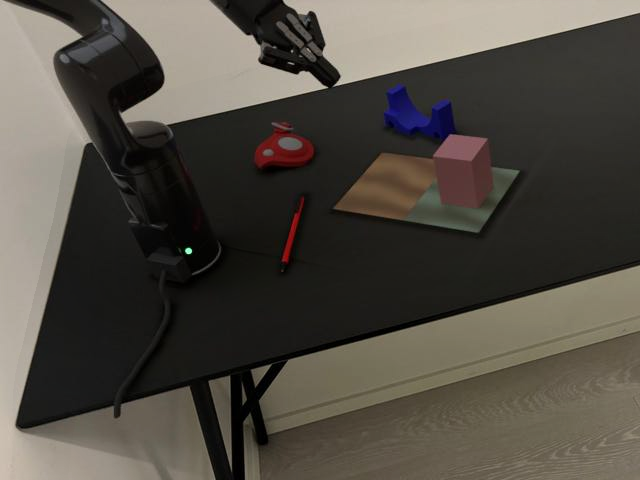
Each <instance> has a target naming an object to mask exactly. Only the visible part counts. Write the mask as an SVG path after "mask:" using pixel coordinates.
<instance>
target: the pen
mask: <svg viewBox="0 0 640 480" xmlns="http://www.w3.org/2000/svg"><path fill="white" fill-rule="evenodd" d="M304 201H305V196H304V195H302V194H301V195H299V198H298V202H297V204H296V208H295V212H294V217H293V220H292V223H291V227H290V231H289V235H288V238H287V240H286V241H287V242H286V245H285V248H284V251H283V255H282V259H281V263H280V264H281V272H282V273H283V272H284V271H285V269H286V268H287V267H288V265H289V261H290V253H291V250H292V249H291V248H292V245H293V242H294V237H295V234H296V231H297V227H298V223H299V220H300V215H301V212H302V208H303V206H304Z"/></svg>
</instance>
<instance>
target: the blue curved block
mask: <svg viewBox="0 0 640 480" xmlns="http://www.w3.org/2000/svg"><path fill="white" fill-rule="evenodd" d="M386 97H387V103H388V107H389V108H388V109H386V110H385V111H384V112H383V111H382V113H383V117H384V122H385V126H386V127H388V128H390V127H392V126H393V129H394V130H396V131H399V132H401V133H404V134H407V135H409V136H412V135H414V134H415V133H417V132H419V133H421V134H424V135H426V136H429V137H432V138H434V139H435V138H438V137H439V139H440V140H439V141H441V142H444V141H445V140H446V139H447V137H448V136H449V135H450V134H453V135H455V134H456V127H455V120H454V119H455V118H454V113H453V106H452V101H450V100H446V99H443V100H441V101H440V102H438V103H437V104H435V105H433V106H432V107H431V108H430V110H431V116H430V117H427V115H424V114H423V113H422V112H420V111H419V110H418V109H417V108H416V106H415V105H414V104H413V101H412V99H410V96H409V94H408V91H407V88H406V85H402V84H399V83H398V84H397V85H395V86H393V87H392V88H390V89H388V90H387V91H386Z"/></svg>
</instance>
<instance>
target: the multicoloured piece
mask: <svg viewBox="0 0 640 480" xmlns="http://www.w3.org/2000/svg"><path fill="white" fill-rule="evenodd" d="M491 168H492V176H493V184H494V186H493V188H492V189H491V191H490V192H489V194H488V195H487V197H486V198H485V200H484V201H483V203H482V204H481V206H480V207H479V209H476V208H469V207H462V206H455V205H449V204H442V203H441V200H440V194H439V188H438V183H437V177H436V171H435V166H434V160H433V158H428V157H427V158H426V157H422V156H421V157H419V156H412V155H405V154H396V153H390V152H381V153H380V154H379V156H378V157H377V158H376V159H375V160H374V161H373V162H372V163H371V165H370V166H369V167H368V168H367V169H366V170H365V172H364V173H363V174H362V175H361V176H360V177H359V178H358V179H357V181H356V182H355V183H354V184H353V185H352V186H351V188H350V189H349V190H347V192H346V193H345V194H344V195H343V196H342V197H341V198H340V200H339V201H338V202H337V203H336V204H335V205H334V207H333V208H332V209H333V210H337V211H343V212H350V213H356V214H361V215H369V216H374V217H379V218H380V217H381V218H385V219H393V220H398V221H405V222H412V223H416V224H422V225H430V226H434V227H435V226H436V227H440V228H441V227H442V228H446V229H447V228H448V229H454V230H460V231H466V232H472V233H478V234H479V233H480V232H481V230H482V228H483V227H484V225H486V223H487V221H488V220H489V218H490V216H491V215H492V214H493V212H494V211H495V209H496V208H497V206H498V205H499V203H500V202H501V200H502V199H503V197H504V195H506V192H508V190H509V188H510V187H511V185H512V184H513V182H514V181H515V179H516V178H517V176H518V174H519V173H520V172H521V170H517V169H511V168H504V167H503V168H502V167H495V166H491Z"/></svg>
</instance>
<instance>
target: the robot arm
mask: <svg viewBox="0 0 640 480" xmlns="http://www.w3.org/2000/svg"><path fill="white" fill-rule="evenodd" d="M208 1H209V2H210V3H211V4H212V5H213V6H214V7H216V9H218V11H220V12H221V13H222V14H223V15H224V16H225V17H226V18H227V19H228V20H229V21H230V22H231V23H233V24H234V25H235V26H236V27H237V28H238V29H239V31H241V32H242V33H243V34H244V35H246V36H248V37H251V36H252V37H253V39H254V40H255V42H256V44H257V45H258V46H259V47H260V54H259V56H258V58H257V61H258V63H259V64H260V65H262V66H266V67H269V68H272V69H276V70H279V71H283V72H286V73H290V74H291V75H295V76H296V75H299V74H300V73H301V72H305V73H310V74H311V75H312V77H314V78H315V79H316V80H317V81H318V82H319V83H320V84H321V85H322V86H324V87H326V88H327V89H331V90H332V88H334V86H335V85H336V84H338V82H339V81H340V79H341V77H342V74H340V72H339V70H338V69H337V68H336V67H335V65H333V64H332V63H331V62H330V61H329V60H328V59H327V58H326V57H325V56H324V54H323V52H324V50H325V47H326V46H327V45H326V40H325V38H324V34H323V31H322V28H321V26H320V23H319V19H318V17H317V14H316V12H315V11H313V10H308V12H307V14H303V13H298V11H297V10H296V9H295V8H293V7H291V6H289V5H287V4H286V3H285V1H284V0H208ZM3 2H7V3H9V4H12V5H14V6H18V7H20V8H23V9H26V10H28V11H29V10H30V11H31V12H35V13H38V14H41V15H44V16H46V17H49V18H52V19H54V20H56V21H58V22H60V23H62V24H64V25H65V26H67V27H68V28H70V29H72V30H73V31H74V32H76V33H77V34H78V35H80V36H81V37H79V38H78V39H75V40H73V41H72V42H69V43H68V44H66V45H63V46H62V47H60V48H58V50H56V51H55V53H54V55H53V58H52V61H53V62H52V64H53V71H54V74H55V76H56V79H57V81H58V83H59V85H60V87H61V88H62V89H61V90H62V91H63V92H64V94H65V96H66V98H67V100H68V101H69V103H70V105H71V107H72V108H73V110H74V111H75V114H76V115H77V117H78V119H79V120H80V122H81V124H82V126H83V128H84V130H85V131H86V134H87V136H88V138H89V139H90V141H91V142H92V145H93V146H94V147H95V149H96V150H97V152H98V153H99V155H100V156H101V158H102V159H103V161H104V163H105V165H106V167H107V169H108V171H109V173H110V174H111V177H112V180H113V181H114V183H115V185H116V187H117V190H118V192H119V193H120V195H121V197H122V200H123V202H124V203H125V206H126V208H127V210H128V212H129V214H130V216H131V218H130V219H129V220H128V221H127V223H128V226H129V228H130V230H131V232H132V234H133V236H134V238H135V240H136V242H137V244H138V247H139V248H140V250H141V252H142V254H143V256H144V258H145V259H146V262H147V264H148V266H149V268H150V270H151V272H152V274H153V276H154V277H155V278H158V279H159V282H158V291H159V295H160V297H161V298H162V300H163V303H164V315H163V320H162V321H161V324H160V326H159V327H158V329H157V332H155V336H154V337H153V339H152V340H151V343H150V344H149V346H148V347H147V348H146V350H145V351H144V353H142V355H141V357H140V358H139V360H138V361H137V362H136V364H135V366H134V367H133V368H132V370H131V372H130V373H129V375H128V376H127V377H126V379H125V380H124V381H123V383H122V384H121V385H120V387H119V388H118V390H117V392H116V395H115V398H114V402H113V418H114V419H118V418H120V417H121V414H122V403H123V398H124V395H125V393H126V392H127V390H128V388H129V387H130V385H131V384H133V382H134V381H135V379H136V377H137V376H138V374H139V372H140V371H141V369H142V368H143V366H144V365H145V363H146V362H147V361H148V360H149V358H150V357H151V355H152V354H153V352H154V351H155V350H156V348H157V346H158V345H159V343H160V341H161V339H162V337H163V335H164V333H165V331H166V329H167V327H168V325H169V323H170V320H171V315H172V304H171V303H172V302H171V300H170V299H171V298H170V297H169V295H168V294H167V292H166V281H167V280H168V281H172V282H176V283H181V284H185V283H189V282H190V281H191V280H193V278H197V277H198V276H201V275H203V274H205V273H207V272H208V271H210V270H212V268H214V267H215V266H216V265H217V264H218V263H219V262H220V260H221V257H222V256H223V249H222V246H221V244H220V242H219V241H218V239H217V236H216V234H215V231H214V229H213V227H212V224H211V222H210V219H209V217H208V214H207V212H206V210H205V208H204V205H203V202H202V200H201V197H200V195H199V193H198V190H197V188H196V186H195V183H194V181H193V179H192V175H191V174H190V171H189V169H188V167H187V164H186V162H185V159H184V157H183V153H182V151H181V150H180V147H179V145H178V143H177V140H176V138H175V136H174V133H173V131H172V129H171V128H170V127H169V126H168V125H166V124H165V123H163V122H160V121H156V120H135V121H129V122H125V120H124V117H123V115H122V113H124V112H127V111H128V110H129V109H130V110H131V108H133V107H135V106H137V105H139V104H140V103H142V102H143V101H146V100H147V99H148V98H150V97H153V96H154V95H155V94H157V93H158V92H159V91H160V90H162V89H163V87H164V84H165V81H166V80H165V79H166V75H165V70H164V67H163V65H162V63H161V61H160V59H159V56H158V55H157V54H156V52H155V51H154V49H153V48H152V46H151V45H150V44H149V42H148V41H147V40H146V39H145V38H144V37H143V36H142V35H141V34H140V33H139V31H137V30H136V29H135V28H134V27H133V26H132V25H131V24H130V23H129V22H127V21H126V20H125V19H124V18H123V17H122V16H120V15H119V14H118V13H117V12H116V11H115V10H113V9H112V8H111V7H110V6H108V5H107V3H105V2H104V1H103V0H3Z"/></svg>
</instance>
